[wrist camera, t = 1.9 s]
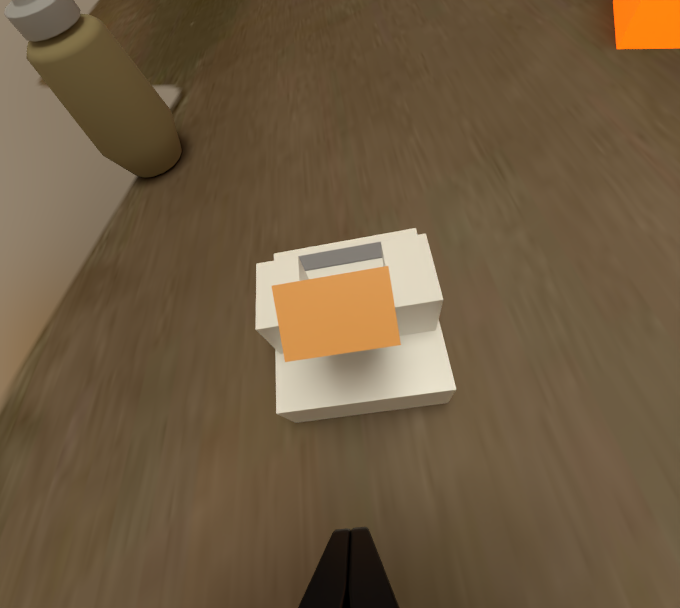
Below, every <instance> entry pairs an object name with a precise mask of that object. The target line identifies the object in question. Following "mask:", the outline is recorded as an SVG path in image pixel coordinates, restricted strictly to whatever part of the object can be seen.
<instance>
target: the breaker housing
mask: <svg viewBox="0 0 680 608" xmlns="http://www.w3.org/2000/svg"><path fill="white" fill-rule="evenodd" d="M384 266H388V267H389V273H390V280H391V286H392V292H393V298H394V305H395V311H396V317H397V323H398V330H399V336H400V342H401V345H397V346H391V347H384V348H377V349H370V350H364V351H357V352H350V353H344V354H337V355H330V356H323V357H317V358H310V359H303V360H296V361H290V362H285V359H284V354H283V348H282V343H281V337H280V331H279V326H278V320H277V314H276V309H275V303H274V298H273V292H272V286H273V285H279V284H285V283H291V282H296V281H302V280H308V279H314V278H320V277H326V276H331V275H337V274H343V273H349V272H355V271H361V270H366V269H372V268H378V267H384ZM442 303H443V297H442V293H441V289H440V286H439V282H438V278H437V274H436V271H435V267H434V263H433V259H432V256H431V252H430V248H429V244H428V241H427V237H426V234H420V235H417V232H416V228H413V229H408V230H402V231H397V232H391V233H386V234H380V235H375V236H369V237H364V238H358V239H353V240H347V241H341V242H336V243H330V244H325V245H319V246H314V247H308V248H303V249H297V250H292V251H286V252H281V253H275V254H274V261H269V262H264V263H258V264H256V330H257V331H258V332H259V333H260V334H261V335H262V336H263V337H264V338H265V339H266V340H267V341H268V342H269V343H270V344H271V345H272V346H273V347H274V348H275V354H276V414H278V415H280V416H282V417H285V418H287V419H289V420H291V421H293V422H295V423H298V422H306V421H314V420H321V419H329V418H337V417H344V416H352V415H360V414H367V413H375V412H383V411H390V410H398V409H406V408H414V407H421V406H429V405H437V404H444V403H448V402H449V400H450V399H451V397H452V395H453V394H454V392H455V391H456V386H455V382H454V378H453V374H452V370H451V366H450V362H449V359H448V355H447V351H446V347H445V343H444V339H443V335H442V331H441V327H440V323H439V316H440V311H441V307H442Z"/></svg>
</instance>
